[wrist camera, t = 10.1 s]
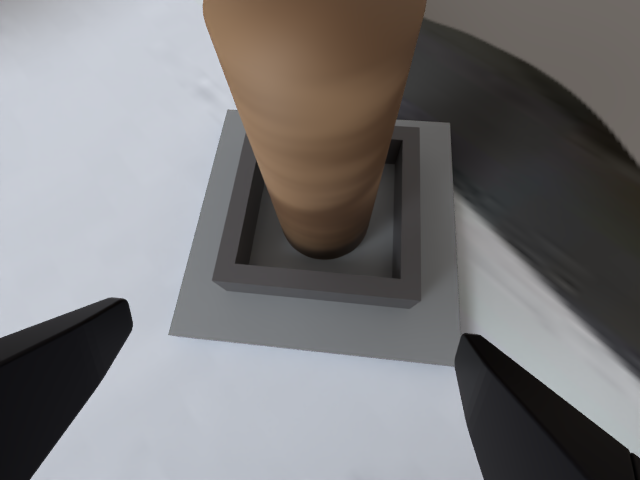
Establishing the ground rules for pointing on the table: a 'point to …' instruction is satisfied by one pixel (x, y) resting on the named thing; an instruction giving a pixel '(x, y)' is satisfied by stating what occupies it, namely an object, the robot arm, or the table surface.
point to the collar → (329, 261)
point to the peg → (318, 104)
